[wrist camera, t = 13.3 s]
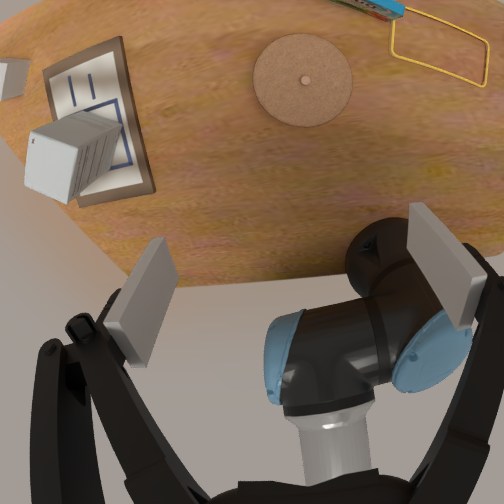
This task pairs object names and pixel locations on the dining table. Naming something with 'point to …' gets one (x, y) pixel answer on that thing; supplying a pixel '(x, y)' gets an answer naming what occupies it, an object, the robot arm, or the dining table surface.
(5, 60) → the gray cube
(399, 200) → the dining table surface
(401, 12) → the yogurt
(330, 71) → the lidded jar
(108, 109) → the brown framed board
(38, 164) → the supplement box
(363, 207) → the dining table surface
